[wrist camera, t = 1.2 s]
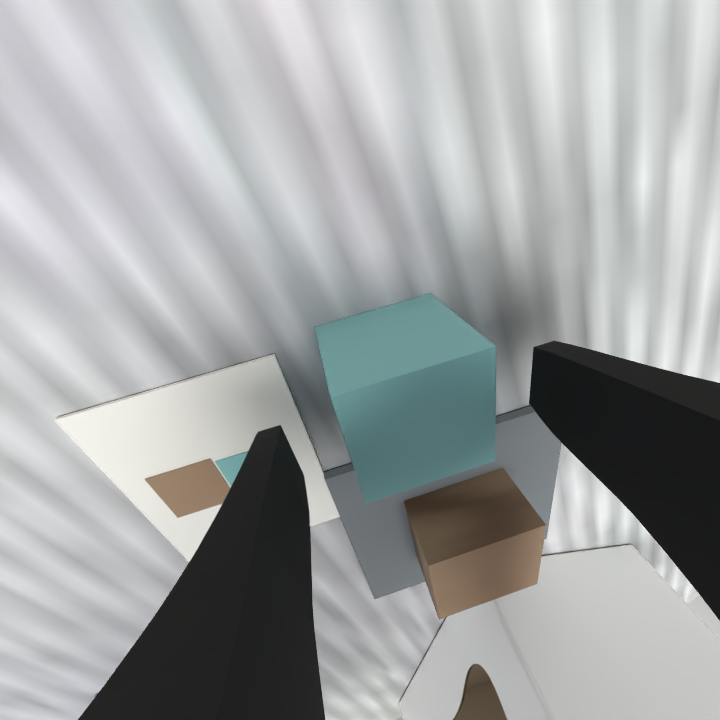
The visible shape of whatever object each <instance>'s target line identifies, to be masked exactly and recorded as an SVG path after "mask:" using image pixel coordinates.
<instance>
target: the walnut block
mask: <svg viewBox="0 0 720 720" xmlns="http://www.w3.org/2000/svg"><path fill="white" fill-rule="evenodd" d="M404 504H405V508H406V513H407V517H408V521H409V525H410V530H411V534H412V538H413V543H414V547H415V551H416V555H417V558H418V561H419V564H420V567H421V570H422V573H423V575H424V578H425V581H426V584H427V587H428V589H429V592H430V595H431V598H432V601H433V603H434V606H435V609H436V612H437V615H438V617H439V619H442V618H445V617H448V616H450V615H453V614H456V613H459V612H461V611H464V610H467V609H470V608H472V607H475V606H478V605H481V604H483V603H486V602H489V601H492V600H494V599H497V598H500V597H503V596H505V595H508V594H511V593H514V592H517V591H519V590H522V589H525V588H528V587H530V586H533V585H536V584H537V583H538V576H539V569H540V563H541V556H542V549H543V543H544V536H545V529H546V524H545V523H544V521H543V520H542V519H541V517H540V516H539V515H538V513H537V512H536V511H535V509H534V508H533V507H532V505H531V504H530V503H529V501H528V500H527V499H526V497H525V496H524V495H523V493H522V492H521V491H520V490H519V488H518V487H517V486H516V484H515V483H514V482H513V480H512V479H511V478H510V476H509V475H508V474H507V472H506V471H505V470H504V468H500V469H497V470H494V471H491V472H488V473H485V474H482V475H479V476H476V477H473V478H470V479H467V480H464V481H461V482H458V483H455V484H452V485H449V486H446V487H443V488H440V489H437V490H434V491H431V492H428V493H425V494H423V495H420V496H417V497H414V498H411V499H408V500H405V501H404Z"/></svg>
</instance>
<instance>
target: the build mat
mask: <svg viewBox="0 0 720 720" xmlns="http://www.w3.org/2000/svg"><path fill="white" fill-rule="evenodd" d="M560 449H561V441H560V440H559V439H558V438H557V437H556V436H555V435H554V434H553V433H552V432H551V431H550V430H549V428H548V427H547V426H546V425H545V424H544V422H543V421H542V420H541V419H540V417H539V416H538V415H537V413H536V412H535V410H534V409H533V408H532V406H528V407H525V408H522V409H519V410H516V411H513V412H510V413H506V414H503V415H500V416H497V417H495V461H494V462H491V463H488V464H485V465H482V466H479V467H476V468H473V469H470V470H467V471H464V472H461V473H458V474H455V475H452V476H449V477H446V478H443V479H440V480H437V481H434V482H431V483H428V484H425V485H422V486H419V487H416V488H413V489H410V490H407V491H404V492H401V493H398V494H395V495H392V496H389V497H386V498H383V499H380V500H377V501H374V502H371V503H368V504H366V503H365V500H364V497H363V494H362V491H361V488H360V485H359V482H358V479H357V476H356V473H355V470H354V467H353V464H352V463H351V464H348V465H345V466H342V467H339V468H335V469H332V470H329V471H326V472H324V479H325V482H326V484H327V487H328V489H329V491H330V494H331V496H332V499H333V501H334V503H335V506H336V508H337V511H338V513H339V515H340V518H341V520H342V523H343V525H344V527H345V530H346V532H347V535H348V537H349V539H350V542H351V544H352V546H353V549H354V551H355V554H356V556H357V558H358V561H359V563H360V566H361V568H362V570H363V573H364V575H365V578H366V580H367V582H368V585H369V587H370V590H371V592H372V594H373V597H374V599H377V598H379V597H382V596H385V595H388V594H391V593H394V592H396V591H399V590H402V589H405V588H408V587H411V586H413V585H416V584H419V583H422V582H425V578H424V575H423V573H422V570H421V567H420V564H419V561H418V558H417V555H416V551H415V547H414V543H413V538H412V534H411V530H410V525H409V521H408V517H407V513H406V508H405V504H404V501H405V500H408V499H411V498H414V497H417V496H420V495H423V494H425V493H428V492H431V491H434V490H437V489H440V488H443V487H446V486H449V485H452V484H455V483H458V482H461V481H464V480H467V479H470V478H473V477H476V476H479V475H482V474H485V473H488V472H491V471H494V470H497V469H500V468H504V470H505V471H506V472H507V474H508V475H509V476H510V478H511V479H512V480H513V482H514V483H515V484H516V486H517V487H518V488H519V490H520V491H521V492H522V493H523V495H524V496H525V497H526V499H527V500H528V501H529V503H530V504H531V505H532V507H533V508H534V509H535V511H536V512H537V513H538V515H539V516H540V517H541V519H542V520H543V521H544V523H545V524H546V529H545V536H544V539H546V538H547V532H548V526H549V519H550V513H551V506H552V500H553V493H554V487H555V481H556V474H557V468H558V461H559V455H560Z"/></svg>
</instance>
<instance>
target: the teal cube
mask: <svg viewBox="0 0 720 720" xmlns="http://www.w3.org/2000/svg"><path fill="white" fill-rule="evenodd" d="M314 328H315V332H316V337H317V341H318V345H319V350H320V354H321V359H322V363H323V368H324V372H325V376H326V381H327V385H328V390H329V394H330V398H331V401H332V404H333V407H334V410H335V413H336V416H337V419H338V422H339V425H340V428H341V431H342V434H343V437H344V440H345V443H346V446H347V449H348V452H349V455H350V458H351V461H352V464H353V467H354V470H355V473H356V476H357V479H358V482H359V485H360V488H361V491H362V494H363V497H364V500H365V503H366V504H368V503H371V502H374V501H377V500H380V499H383V498H386V497H389V496H392V495H395V494H398V493H401V492H404V491H407V490H410V489H413V488H416V487H419V486H422V485H425V484H428V483H431V482H434V481H437V480H440V479H443V478H446V477H449V476H452V475H455V474H458V473H461V472H464V471H467V470H470V469H473V468H476V467H479V466H482V465H485V464H488V463H491V462H494V461H495V415H496V346H495V345H494V344H493V343H491V342H490V341H489V340H488V339H486V338H485V337H484V336H483V335H481V334H480V333H479V332H478V331H477V330H475V329H474V328H473V327H472V326H470V325H469V324H468V323H467V322H465V321H464V320H463V319H462V318H460V317H459V316H458V315H457V314H455V313H454V312H453V311H452V310H450V309H449V308H448V307H447V306H445V305H444V304H443V303H442V302H441V301H439V300H438V299H437V298H436V297H434V296H433V295H432V294H431V293H430V294H426V295H423V296H419V297H416V298H412V299H409V300H405V301H402V302H398V303H395V304H391V305H388V306H385V307H381V308H378V309H374V310H371V311H367V312H364V313H360V314H357V315H353V316H350V317H346V318H343V319H340V320H336V321H333V322H329V323H326V324H322V325H319V326H315V327H314Z"/></svg>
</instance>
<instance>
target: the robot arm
mask: <svg viewBox="0 0 720 720" xmlns="http://www.w3.org/2000/svg"><path fill="white" fill-rule="evenodd" d="M529 404H530V405H531V406H532V408H533V409H534V410H535V412H536V413H537V415H538V416H539V417H540V419H541V420H542V421H543V422H544V424H545V425H546V426H547V427H548V428H549V430H550V431H551V432H552V433H553V434H554V435H555V436H556V437H557V438H558V439H559V440H560V441H561V442H562V443H563V444H564V445H565V446H566V447H567V448H568V449H569V450H570V451H571V452H572V453H573V454H574V455H575V456H576V457H577V458H578V459H579V460H580V461H581V462H582V463H583V464H584V465H585V466H586V467H587V468H588V469H589V470H590V471H591V472H592V473H593V474H594V475H595V476H596V477H597V478H598V479H599V480H600V481H601V482H602V483H603V484H604V485H605V486H606V487H607V488H608V489H609V490H610V491H611V492H612V493H613V494H614V495H615V496H616V497H617V498H618V499H619V500H620V501H621V502H622V503H623V504H624V505H625V506H626V507H627V508H628V509H629V510H630V511H631V512H632V513H633V514H634V516H635V517H636V518H637V519H638V520H639V521H640V523H641V524H642V525H643V526H644V527H645V528H646V530H647V531H648V532H649V533H650V534H651V536H652V537H653V538H654V539H655V540H656V541H657V543H658V544H659V545H660V546H661V547H662V548H663V550H664V551H665V552H666V553H667V554H668V556H669V557H670V558H671V559H672V561H673V562H674V563H675V564H676V566H677V567H678V568H679V569H680V571H681V572H682V573H683V574H684V575H685V577H686V578H687V579H688V580H689V582H690V583H691V584H692V585H693V587H694V588H695V589H696V590H697V592H698V593H699V594H700V595H701V596H702V598H703V599H704V601H705V602H706V603H707V604H708V606H709V607H710V608H711V610H712V611H713V612H714V614H715V615H716V616H717V618H718V619H719V620H720V383H717V382H713V381H708V380H704V379H700V378H696V377H691V376H687V375H683V374H679V373H675V372H671V371H667V370H663V369H659V368H656V367H652V366H648V365H644V364H641V363H637V362H633V361H630V360H626V359H622V358H619V357H615V356H612V355H608V354H604V353H601V352H597V351H593V350H590V349H586V348H582V347H578V346H574V345H570V344H566V343H562V342H557V341H552V342H549V343H546V344H543V345H539V346H536V347H534V350H533V362H532V375H531V387H530V400H529ZM78 720H325V714H324V707H323V699H322V691H321V683H320V675H319V666H318V658H317V649H316V641H315V632H314V620H313V606H312V575H311V542H310V515H309V505H308V498H307V491H306V485H305V478H304V474H303V472H302V470H301V468H300V465H299V463H298V461H297V459H296V457H295V455H294V453H293V450H292V448H291V446H290V444H289V442H288V440H287V438H286V435H285V433H284V431H283V429H282V427H281V425H278V426H275V427H272V428H269V429H265V430H262V431H259V432H258V433H257V434H256V436H255V438H254V440H253V442H252V444H251V446H250V449H249V451H248V453H247V455H246V457H245V459H244V461H243V463H242V466H241V468H240V470H239V472H238V474H237V476H236V478H235V480H234V482H233V484H232V486H231V488H230V490H229V492H228V494H227V496H226V498H225V500H224V502H223V504H222V506H221V507H220V509H219V511H218V513H217V515H216V517H215V519H214V520H213V522H212V524H211V526H210V527H209V529H208V531H207V533H206V534H205V536H204V538H203V540H202V541H201V543H200V545H199V547H198V549H197V550H196V552H195V554H194V555H193V557H192V559H191V560H190V562H189V564H188V565H187V567H186V568H185V570H184V572H183V573H182V575H181V576H180V578H179V580H178V581H177V583H176V584H175V586H174V587H173V589H172V590H171V592H170V593H169V595H168V597H167V598H166V600H165V601H164V603H163V604H162V606H161V607H160V609H159V610H158V612H157V613H156V615H155V616H154V617H153V619H152V620H151V622H150V623H149V625H148V626H147V627H146V629H145V630H144V632H143V633H142V634H141V636H140V637H139V639H138V640H137V641H136V643H135V644H134V645H133V647H132V648H131V650H130V651H129V652H128V654H127V655H126V656H125V658H124V659H123V661H122V662H121V663H120V665H119V666H118V667H117V669H116V670H115V672H114V673H113V674H112V676H111V677H110V678H109V680H108V681H107V683H106V684H105V685H104V687H103V688H102V689H101V691H100V692H99V693H98V695H97V696H96V697H95V699H94V700H93V701H92V702H91V704H90V705H89V706H88V708H87V709H86V710H85V711H84V713H83V714H82V715H81V717H80V718H79V719H78Z"/></svg>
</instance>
